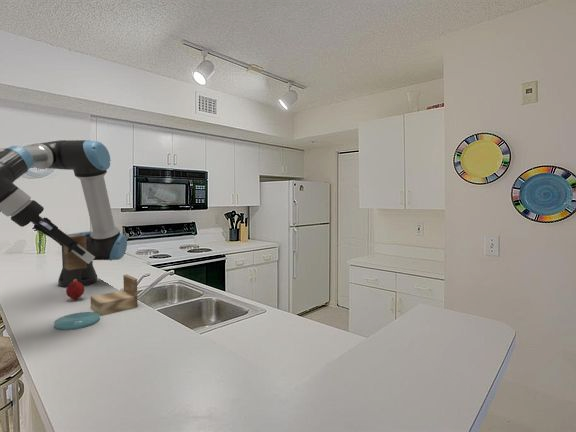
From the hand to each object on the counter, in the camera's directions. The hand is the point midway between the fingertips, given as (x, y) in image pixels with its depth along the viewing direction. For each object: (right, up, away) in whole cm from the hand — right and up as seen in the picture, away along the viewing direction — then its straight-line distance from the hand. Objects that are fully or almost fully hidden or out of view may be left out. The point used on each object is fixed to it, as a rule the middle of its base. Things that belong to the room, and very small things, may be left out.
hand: (89, 259), depth 105 cm
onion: (-18, -19, +21) cm, 33 cm away
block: (-3, -2, -3) cm, 4 cm away
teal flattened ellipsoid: (-3, -20, -1) cm, 20 cm away
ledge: (+1, -19, +12) cm, 23 cm away
